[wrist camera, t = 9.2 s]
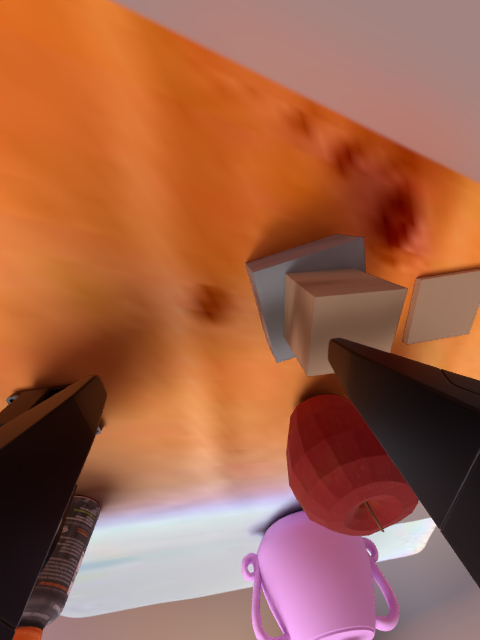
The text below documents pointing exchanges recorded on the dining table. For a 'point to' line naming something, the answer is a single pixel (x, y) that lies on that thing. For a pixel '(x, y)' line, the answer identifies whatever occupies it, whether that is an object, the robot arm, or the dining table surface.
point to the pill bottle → (59, 570)
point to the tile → (443, 306)
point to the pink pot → (317, 583)
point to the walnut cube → (338, 313)
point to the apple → (343, 469)
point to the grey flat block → (304, 258)
